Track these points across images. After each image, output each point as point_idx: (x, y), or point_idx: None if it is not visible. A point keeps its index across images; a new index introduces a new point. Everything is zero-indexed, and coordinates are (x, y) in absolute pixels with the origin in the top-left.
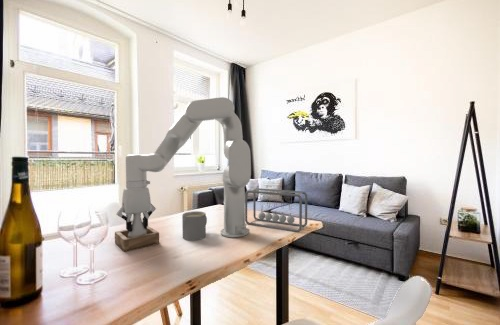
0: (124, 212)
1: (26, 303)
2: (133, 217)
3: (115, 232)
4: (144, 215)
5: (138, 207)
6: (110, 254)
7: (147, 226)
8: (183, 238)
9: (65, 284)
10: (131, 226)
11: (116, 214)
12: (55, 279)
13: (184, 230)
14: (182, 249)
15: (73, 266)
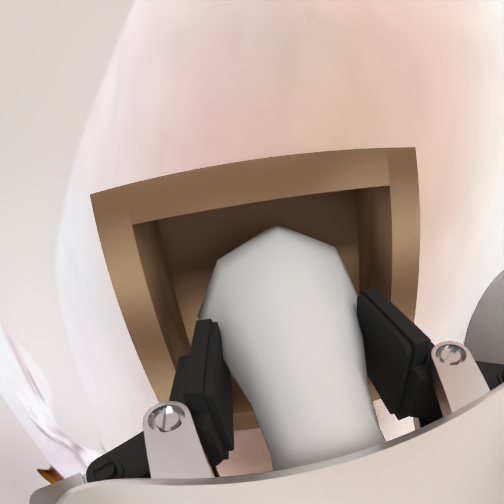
0: (106, 491)
1: (46, 470)
2: (272, 454)
3: (95, 220)
4: (441, 383)
5: None
6: (122, 373)
7: (410, 178)
8: (468, 330)
9: (70, 463)
10: (230, 413)
11: (34, 494)
12: (35, 432)
13: (490, 360)
14: (395, 430)
15: (33, 393)
